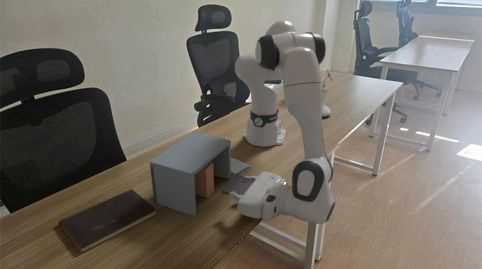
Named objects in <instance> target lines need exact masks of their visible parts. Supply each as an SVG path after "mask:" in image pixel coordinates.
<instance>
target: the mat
mask: <svg viewBox="0 0 482 269" xmlns="http://www.w3.org/2000/svg"><path fill="white" fill-rule="evenodd" d="M244 176H245V175H242V174H237V175H236V176H235V175H234V177H233V179H232V180H230V181H229V182H228V184H227V185H226V186H225V187H224V188H223V189H222V190H221V192H222V193H224V194H228V195H229V193H230V192H231V191H232V190H233V191H236V192H237V194H238V195H244V193H245V192H246V191H247V190H248V188H249V187H250V186H251V185H252V184H253V183H251V182H248V183H244V182H243V177H244Z"/></svg>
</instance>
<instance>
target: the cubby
mask: <svg viewBox="0 0 482 269" xmlns="http://www.w3.org/2000/svg"><path fill="white" fill-rule="evenodd" d="M231 148H232V140H230V139H226V138H222V137H217V136H214V135H213V136H212V135H209V134H203V133H200V132H196V131H195V132H192V133H190V134H188V136H186V137H184V138H183V139H181V140H180V141H178V142H177V143H175V144H173V146H171V147H170V148H167V149H166V150H165V151H163V152H162V153H160V154H158V155H157V156H156V157H154V158H153V159H151V160H150V161H149V168H150V177H151V183H152V184H151V186H152V194H153V203H155V204H157V205H160V206H163V207H166V208H169V209H172V210H174V211H177V212H180V213H184V214H186V215H189V216H192V217H195V216H196V215H197V204H196V203H197V202H196V191H195V174H196V173H197V172H199V171H200V170H201V169H202V168H203V167H204V166H206V165H207V164H208V163H209V162H211V163H213V173H214V176H216V177H219V178H223V179H226V180H230V179H231V177H232V175H231V157H232V156H231V155H232V154H231V153H232V152H231V150H232V149H231Z"/></svg>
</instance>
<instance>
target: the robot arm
mask: <svg viewBox="0 0 482 269" xmlns="http://www.w3.org/2000/svg"><path fill="white" fill-rule="evenodd" d="M326 47H327V45H326V42H325V39H324V38H323V36H322V35H321V34H320V33H317V32H316V33H315V32H311V31H304V32H297V29H296V27H295V25H294V24H293V23H292V22H290V21H288V20H284V19H282V20H278V21H275V22H274V23H273V24H272V25H271V26H269V28H268V29H267V31H266V33H265V34H264V35H262V36H260V37H259V38H258V39H257V42H256V45H255V50H254V53H253V52H252V53H246V54H242V55H239V56H238V57H237V59H236V60H235V64H234V71H235V74H236V76H237V77H238V79H239V80H241V81H242V82H244V83H245V85H246V86H247V87H248V90H249V92H250V98H251V100H250V102H251V106H250V107H251V109H250V112H249V119H248V120H247V123H246V130H245V131H246V132H245V133H243V138H244V139H246V141H247V142H248V143H249V144H250V145H252V146H256V147H264V148H265V147H272V146H278V145H279V146H281V145H283V143H284V141H285V136H286V134H287V130H286V129H285V128H283V122H282V120H281V119H280V118H279V113H280V108H278V94H277V92H276V90H274V89H273V88H270V87H269V86H267V85H265V81H282V87H283V88H282V90H283V96H284V103H285V105H286V108H287V111H288V112H289V114H290V115H291V116H292V117H293V118H294V119H295V121H296V122H297V123H298V125H299V128H300V130H301V137H302V143H303V149H304V150H303V151H304V157H303V160H302V161H300V162H298V163H297V164H296V165H295V166H294V167H293V171H292V173H291V174H292V175H291V185H289V184H288V181H287V180H286V179H285V178H282V176H280V175H278V174H275V173H272V172H270V171H261V172H260V174H259V175H252V176H247V175H243V176H244V177H243V182H244V183H248V182H251V183H253V184H252V185H251V186H250V187H249V188H248V190H247V191H246V192H245V193H244V195H238V194H237V192H236V191H233V190H232V191H231V192H230V193H229V194H228V195H229V196H228V197H229V198H230V199H234V200H235V202H237V204H236V205H237V206H236V207H237V209H236V210H237V211H238V213H239V214H241V215H243V216H246V217H249V218H252V219H262V221H263V222H266V223H269V222H271V221H272V220H273V219H275V218H277V217H278V216H280V215H283V216H289V217H290V216H292V217H294V218H295V219H297V220H300V221H304V222H307V223H311V224H317V225H323V224H326V223H327V222H328V221H329V220H330V217H331V216H332V214H333V212H334V209H335V206H336V200H335V199H334V197H333V194H332V191H331V188H330V183H331V182H332V179H333V177H334V168H333V165H332V163H331V161H330V160H329V158H328V157H327V156H328V155H327V154H326V151H325V142H324V133H323V124H322V123H323V122H322V121H323V120H322V118H323V117H322V89H323V88H322V87H323V82H322V81H323V80H322V74H321V69H320V65H319V64H322V62H323V61H324V60H325V58H326V51H327V50H326V49H327V48H326Z"/></svg>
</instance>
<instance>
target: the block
mask: <svg viewBox="0 0 482 269" xmlns="http://www.w3.org/2000/svg"><path fill="white" fill-rule="evenodd" d="M214 176H215V175H214V173H213V163H211V162H209V163H208V164H207V165H206V166H204V167H203V168H202V169H201V170H200V171H199V172H197V173H196V174H195V175H194V180H195V196H201V197H203V198H207V199H208V198H209V197H210V196H211V194H212V193H214V191H215V182H214V180H215V178H214Z"/></svg>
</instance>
